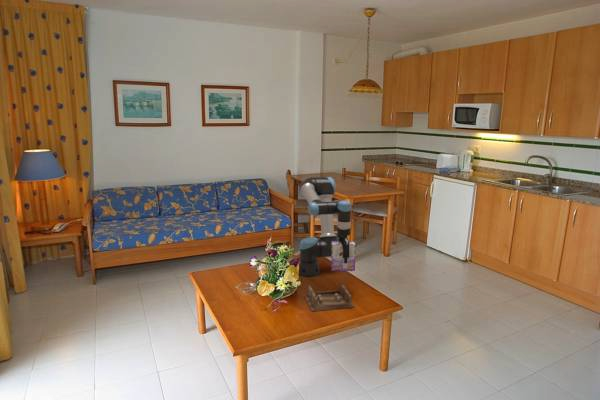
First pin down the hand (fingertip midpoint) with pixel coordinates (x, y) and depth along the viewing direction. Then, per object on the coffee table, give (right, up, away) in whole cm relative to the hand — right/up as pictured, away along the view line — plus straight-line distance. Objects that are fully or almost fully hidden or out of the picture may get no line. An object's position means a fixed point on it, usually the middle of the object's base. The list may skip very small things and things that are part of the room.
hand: (342, 265), depth 234 cm
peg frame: (-9, -19, -9) cm, 23 cm away
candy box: (0, -2, +1) cm, 3 cm away
